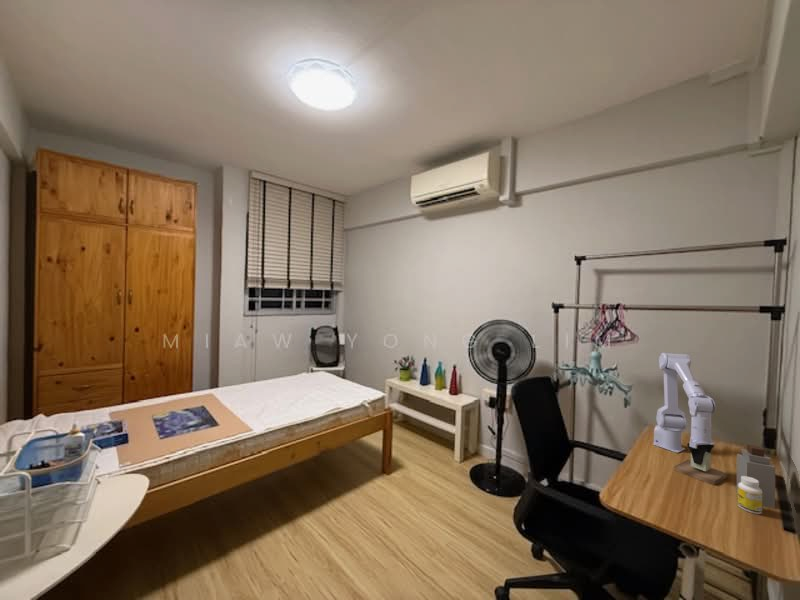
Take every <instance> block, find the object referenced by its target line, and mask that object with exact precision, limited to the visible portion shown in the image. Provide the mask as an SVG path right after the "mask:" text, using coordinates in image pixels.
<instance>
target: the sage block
mask: <svg viewBox="0 0 800 600" xmlns="http://www.w3.org/2000/svg"><path fill="white" fill-rule="evenodd" d="M711 455H712V453H711V452H710V453H708V452H705V454H704V457H703V462H702V464H701V465H699V464H696V463H694V461H693V457H692V454H691V453H690V461H691V466H692V467H695V468H698V469H700V470H703V471H707V470H709V469H711V468H712V467H711V466H712V465H711V460H712V459H711V458H712V456H711Z"/></svg>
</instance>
